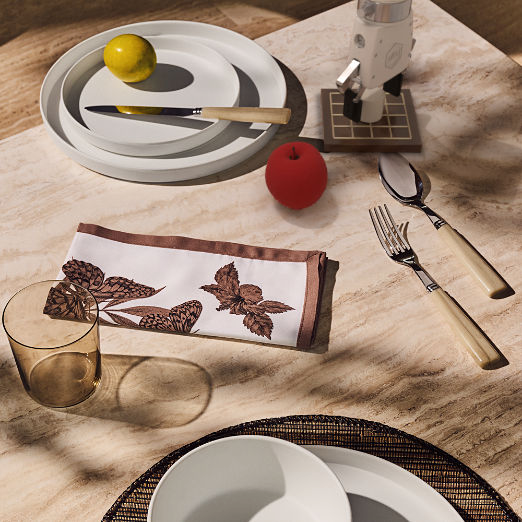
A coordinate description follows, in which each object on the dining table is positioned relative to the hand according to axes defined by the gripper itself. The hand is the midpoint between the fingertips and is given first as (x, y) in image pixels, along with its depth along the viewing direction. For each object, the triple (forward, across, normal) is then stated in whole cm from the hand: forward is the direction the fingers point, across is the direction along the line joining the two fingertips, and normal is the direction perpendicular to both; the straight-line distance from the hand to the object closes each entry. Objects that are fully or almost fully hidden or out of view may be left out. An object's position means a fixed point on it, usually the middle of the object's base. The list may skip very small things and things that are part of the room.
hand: (371, 105), depth 108 cm
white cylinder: (+2, 0, 0) cm, 2 cm away
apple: (+4, -21, -4) cm, 22 cm away
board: (+3, 0, 0) cm, 3 cm away
